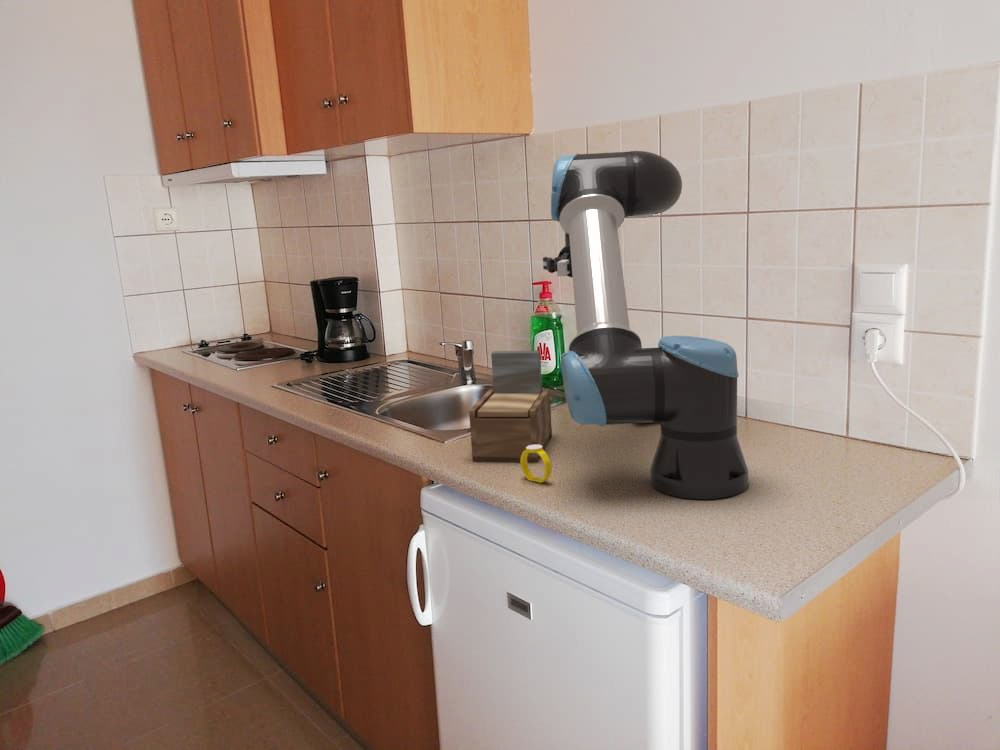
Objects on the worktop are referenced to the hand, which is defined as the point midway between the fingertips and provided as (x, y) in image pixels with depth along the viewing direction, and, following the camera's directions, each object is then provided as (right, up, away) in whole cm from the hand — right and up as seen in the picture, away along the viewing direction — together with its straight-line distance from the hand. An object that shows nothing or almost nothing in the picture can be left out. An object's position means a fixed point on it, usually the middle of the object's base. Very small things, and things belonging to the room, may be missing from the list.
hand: (561, 269), depth 154 cm
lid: (-10, -26, -7) cm, 29 cm away
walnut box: (-9, -35, -5) cm, 36 cm away
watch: (-6, -39, -23) cm, 45 cm away
